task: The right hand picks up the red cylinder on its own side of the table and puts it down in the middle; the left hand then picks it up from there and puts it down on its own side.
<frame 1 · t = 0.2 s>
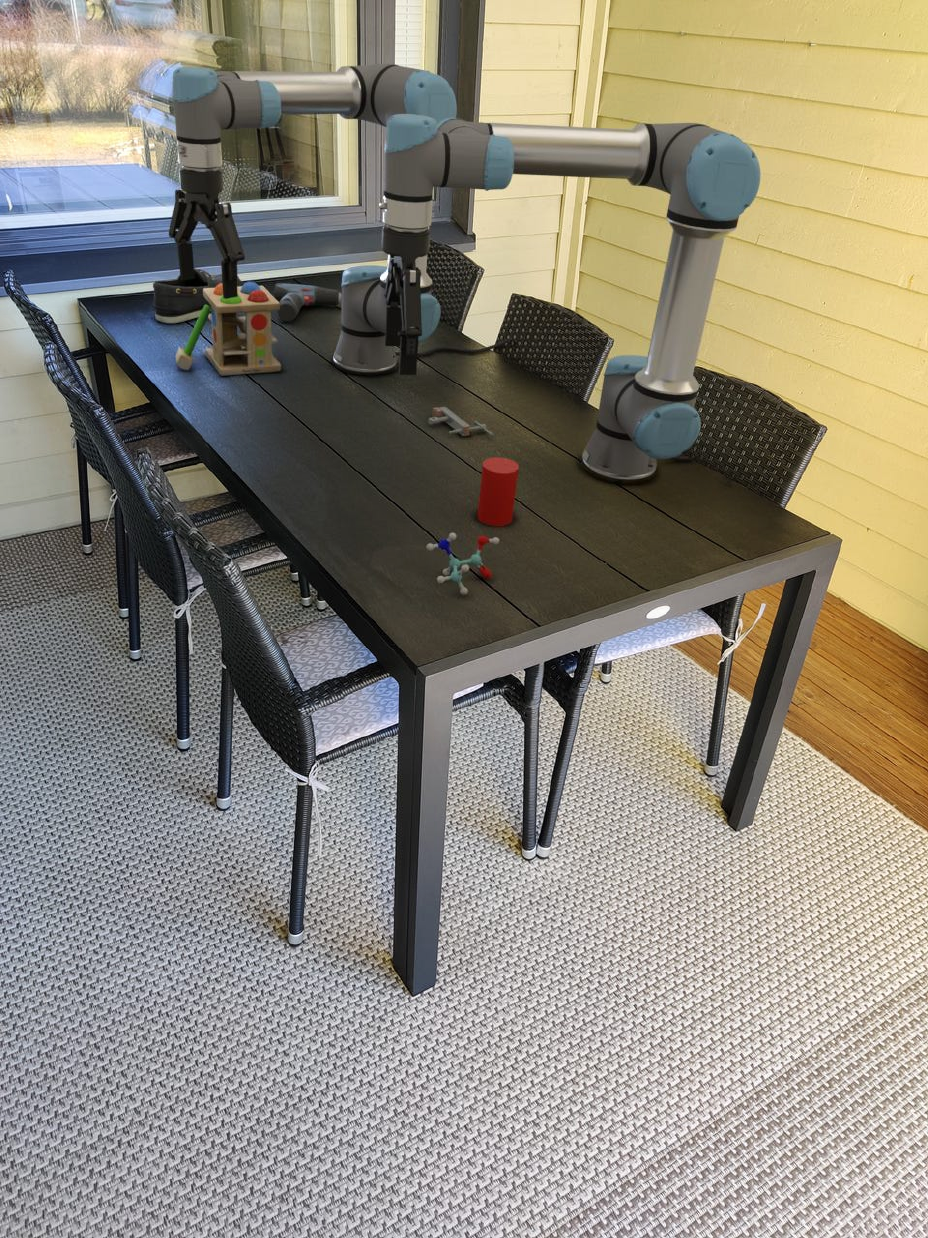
left hand: (208, 288, 186), 28 cm above the table, tool pointing down, fingers open, 13 cm apart
right hand: (400, 359, 164), 28 cm above the table, tool pointing down, fingers open, 13 cm apart
boat shoe: (200, 307, 263), on the table
red cylinder: (494, 517, 179), on the table
clamp: (457, 429, 211), on the table
pounding bench toy: (225, 365, 230), on the table
molecular model: (457, 580, 160), on the table
power drill: (305, 313, 267), on the table
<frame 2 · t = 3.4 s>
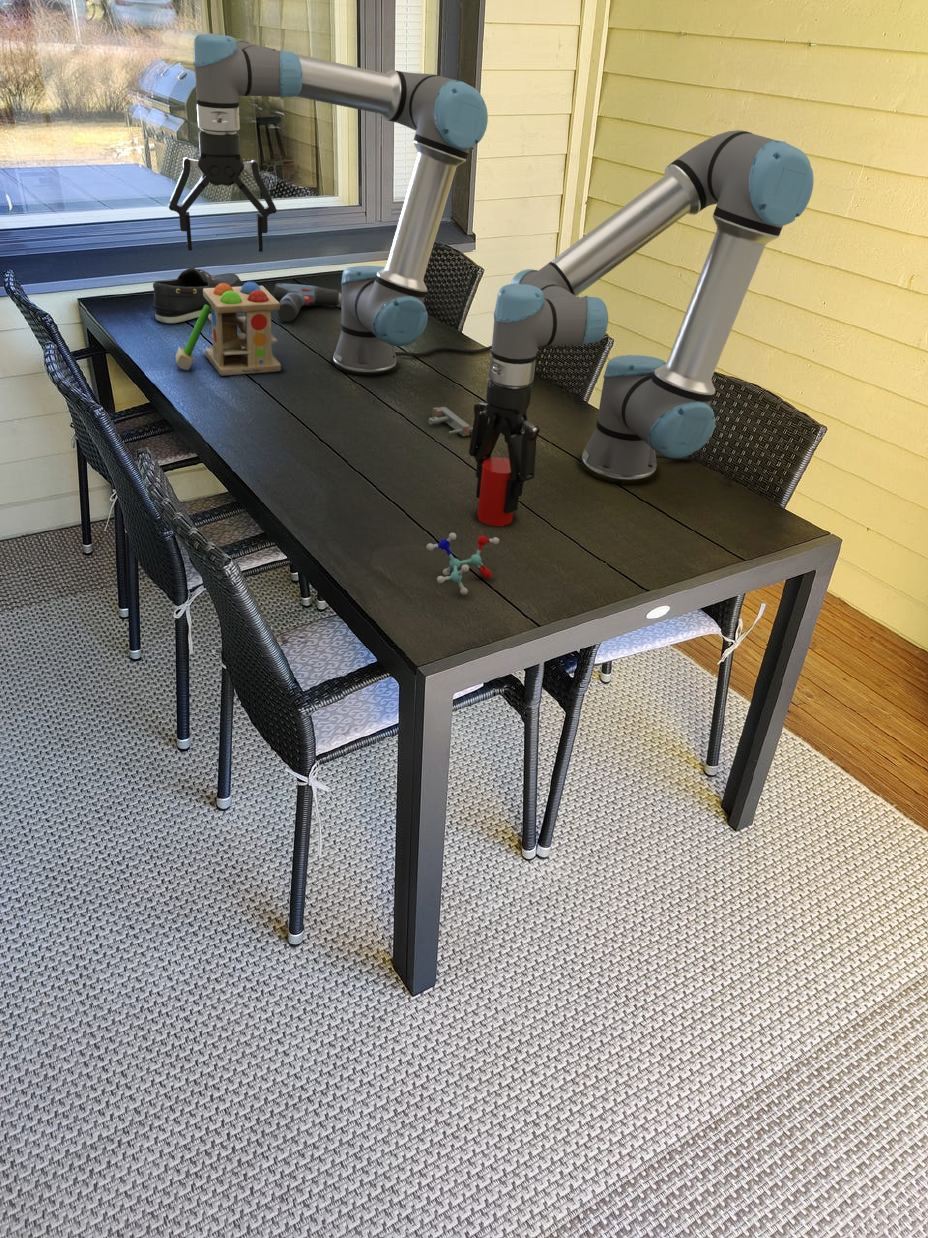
left hand: (225, 249, 194), 32 cm above the table, tool pointing down, fingers open, 13 cm apart
right hand: (496, 503, 178), 3 cm above the table, tool pointing down, fingers closed on red cylinder, 6 cm apart
red cylinder: (494, 517, 179), on the table, touching right hand
everything else where it was.
when the right hand's fingers open (5 cm above the table, at t = 8.4 s): red cylinder drops 2 cm, on the table.
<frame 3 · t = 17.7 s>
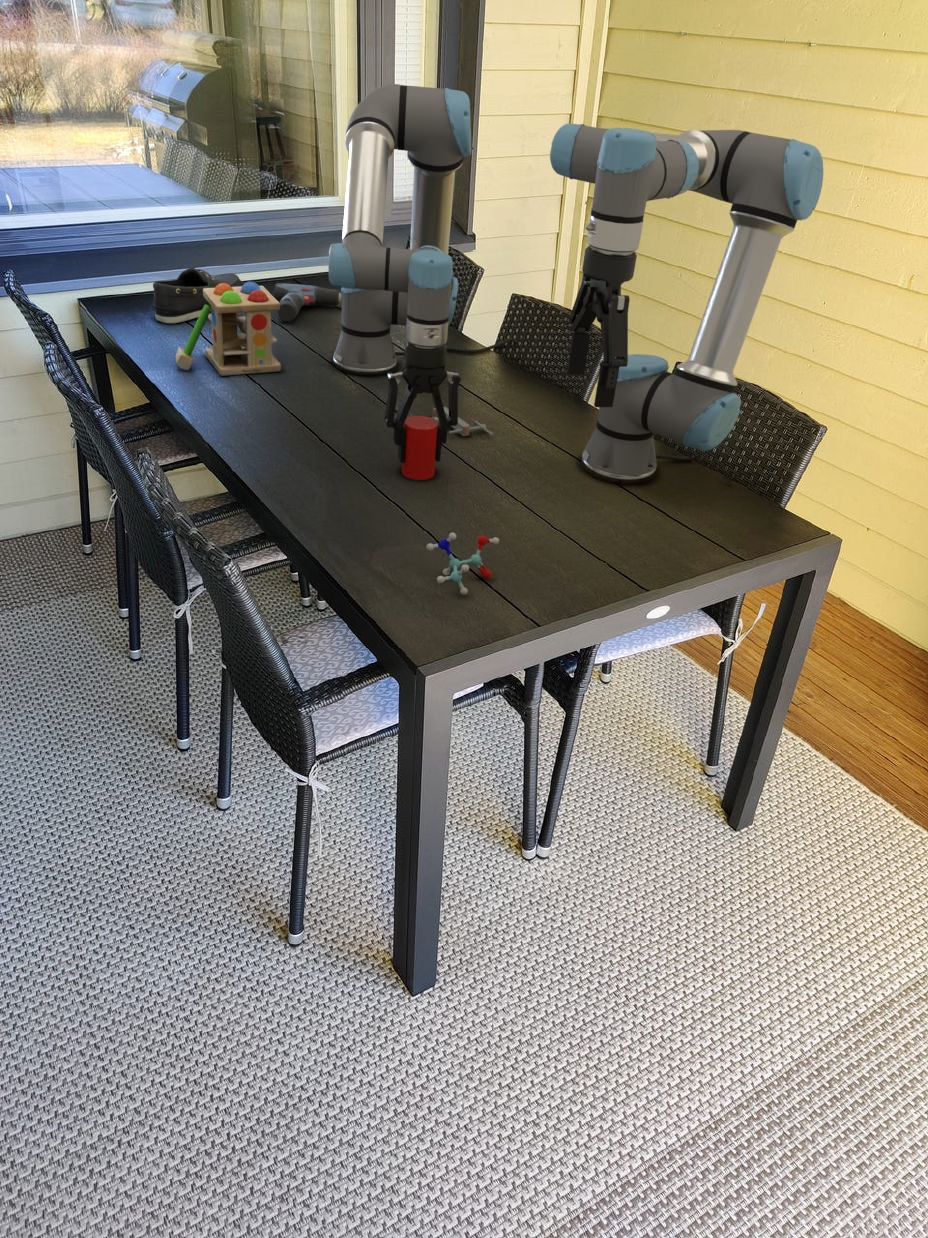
left hand: (418, 458, 190), 3 cm above the table, tool pointing down, fingers closed on red cylinder, 6 cm apart
right hand: (588, 389, 153), 30 cm above the table, tool pointing down, fingers open, 13 cm apart
red cylinder: (418, 472, 192), on the table, touching left hand
everything else where it was.
when the left hand's fingers open (5 cm above the table, at t = 23.2 s): red cylinder drops 2 cm, on the table.
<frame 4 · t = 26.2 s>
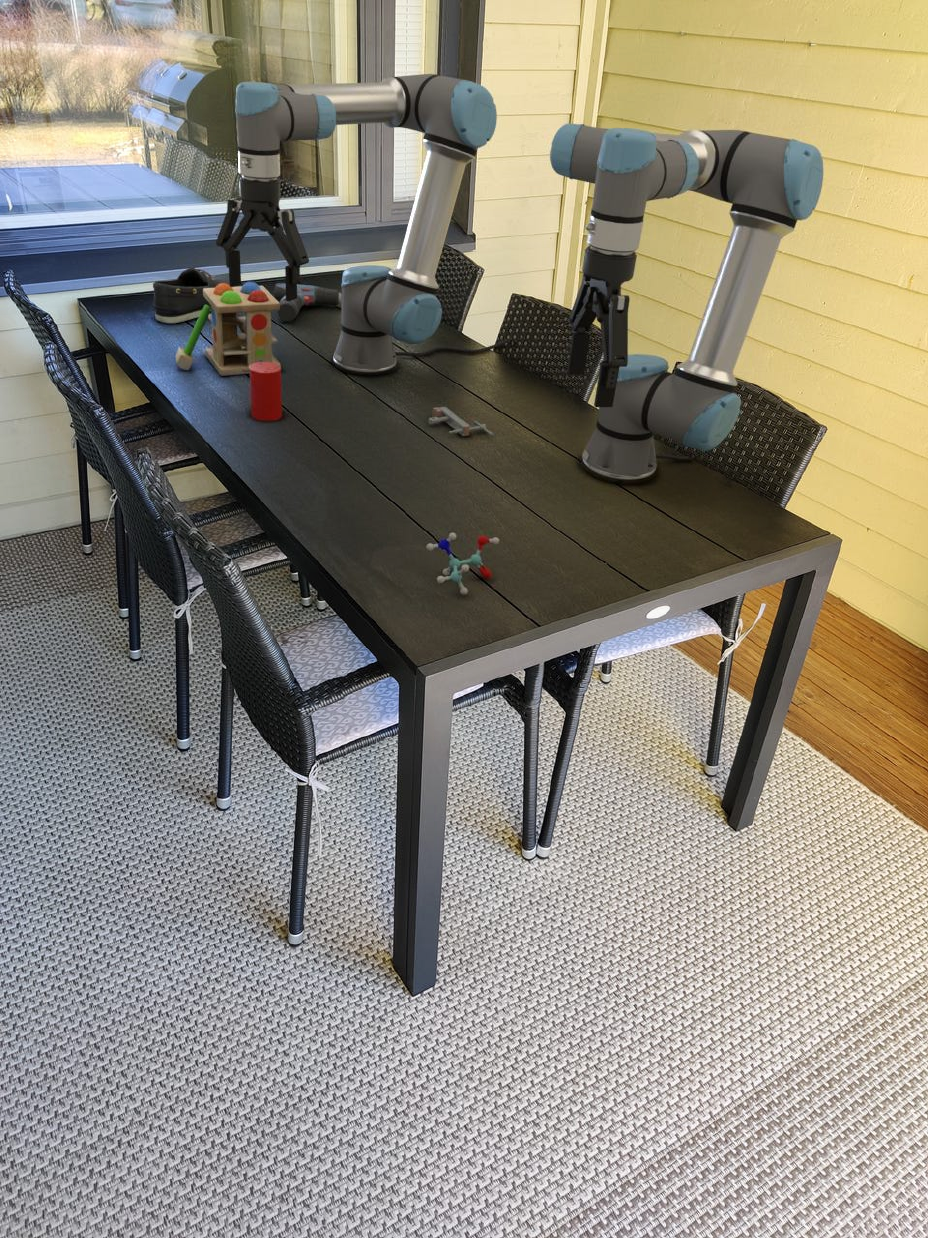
left hand: (263, 292, 194), 26 cm above the table, tool pointing down, fingers open, 13 cm apart
right hand: (588, 389, 153), 30 cm above the table, tool pointing down, fingers open, 13 cm apart
red cylinder: (266, 415, 209), on the table
everything else where it was.
at the end: red cylinder inside the target area (0.1 cm from its centre), on the table; red cylinder tilted 0°; the two hands never held the red cylinder at the same time; the left hand is holding nothing; the right hand is holding nothing; red cylinder at rest at the end (0.0 cm/s) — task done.
